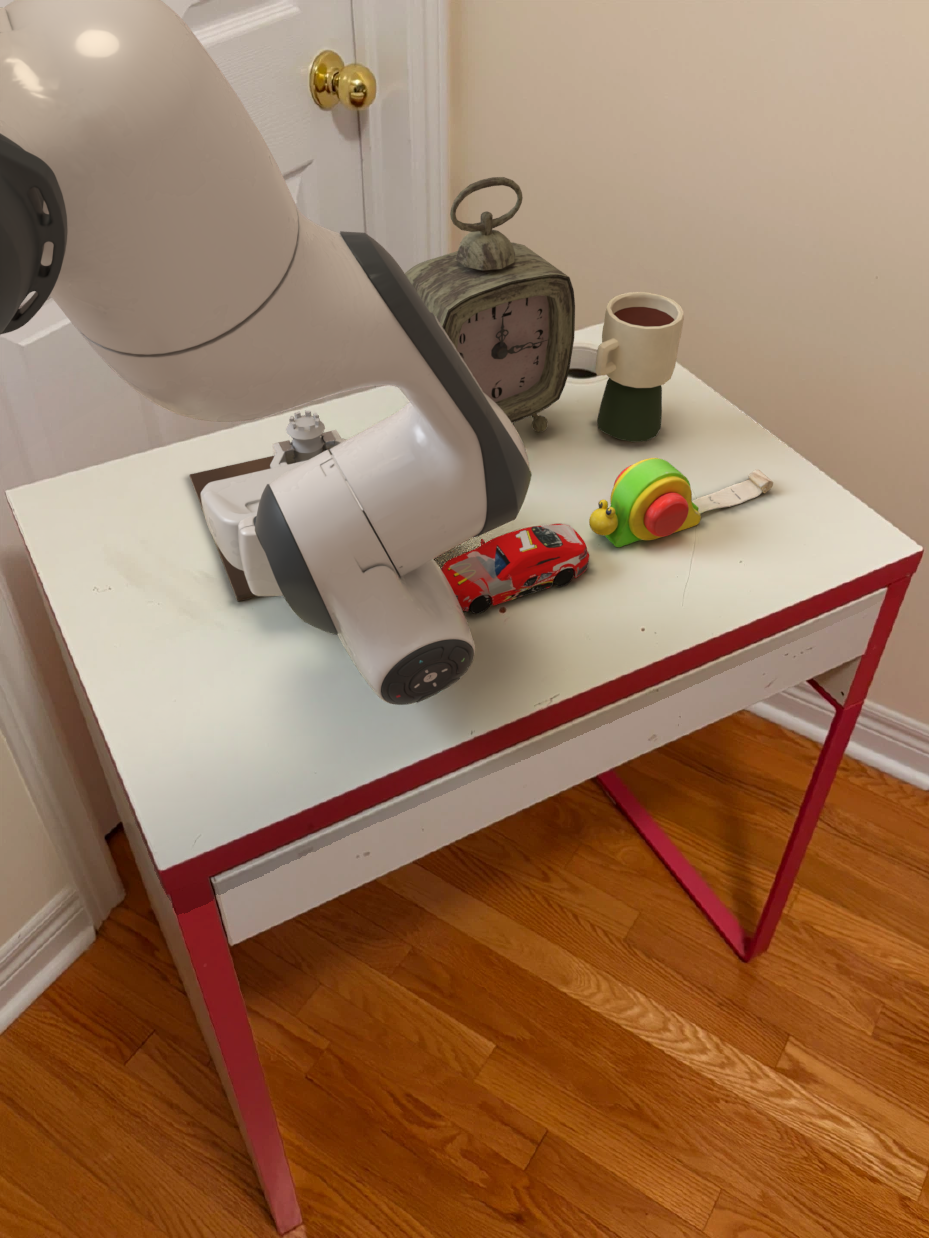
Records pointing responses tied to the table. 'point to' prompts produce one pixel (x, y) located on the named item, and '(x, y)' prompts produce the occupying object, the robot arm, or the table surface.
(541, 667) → the table surface
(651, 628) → the table surface
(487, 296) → the tabletop clock
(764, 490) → the toy measuring tape
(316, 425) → the rook chess piece
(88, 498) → the table surface
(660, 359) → the cream coffee mug
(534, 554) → the race car
